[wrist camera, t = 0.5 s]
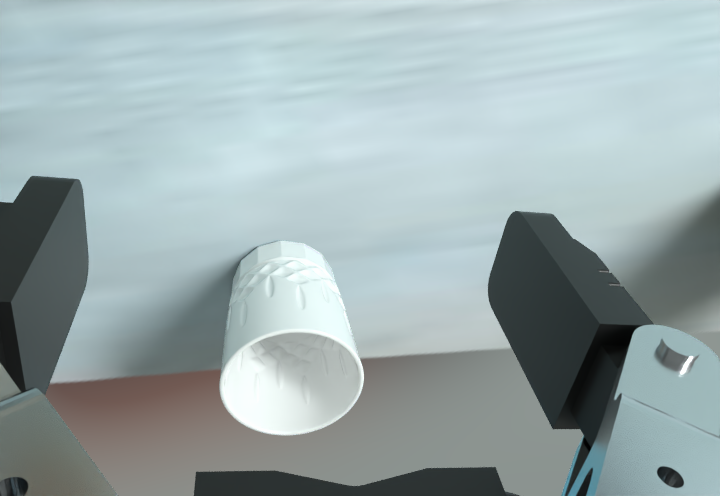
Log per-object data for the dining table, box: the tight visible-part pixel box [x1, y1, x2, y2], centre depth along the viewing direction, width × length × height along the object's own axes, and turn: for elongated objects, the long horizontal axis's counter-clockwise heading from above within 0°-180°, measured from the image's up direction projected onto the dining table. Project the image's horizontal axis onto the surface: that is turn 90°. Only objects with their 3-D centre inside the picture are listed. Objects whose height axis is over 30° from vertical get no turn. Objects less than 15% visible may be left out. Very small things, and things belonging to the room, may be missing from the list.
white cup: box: [219, 241, 364, 435], centre depth 39 cm, size 8×8×10 cm
